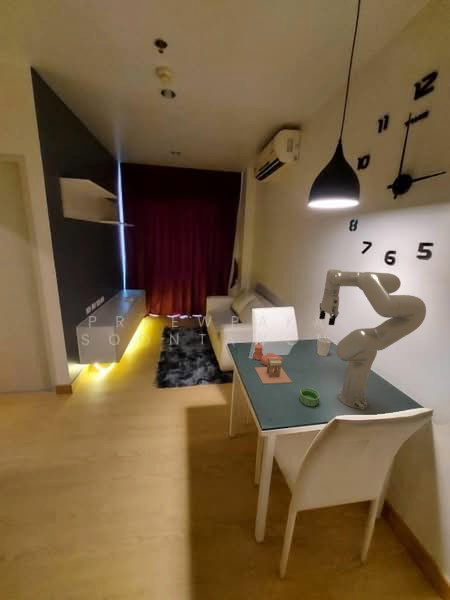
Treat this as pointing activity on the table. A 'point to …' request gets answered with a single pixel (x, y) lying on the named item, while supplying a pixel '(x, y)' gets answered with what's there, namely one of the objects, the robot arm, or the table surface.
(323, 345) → the white cup
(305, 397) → the ramekin
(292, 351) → the table surface
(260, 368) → the mat
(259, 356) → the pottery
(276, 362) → the stool
